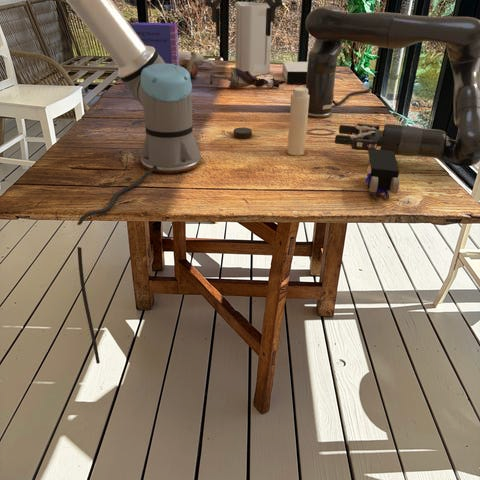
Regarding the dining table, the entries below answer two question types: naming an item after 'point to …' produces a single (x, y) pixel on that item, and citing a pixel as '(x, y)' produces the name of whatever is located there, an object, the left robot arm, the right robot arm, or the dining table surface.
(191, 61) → the anatomical model
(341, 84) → the dining table surface
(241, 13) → the tall white carton
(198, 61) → the toy
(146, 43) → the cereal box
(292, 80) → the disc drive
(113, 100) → the dining table surface
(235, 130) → the lid
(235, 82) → the figurine
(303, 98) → the cream cylindrical bottle
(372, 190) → the figurine character
